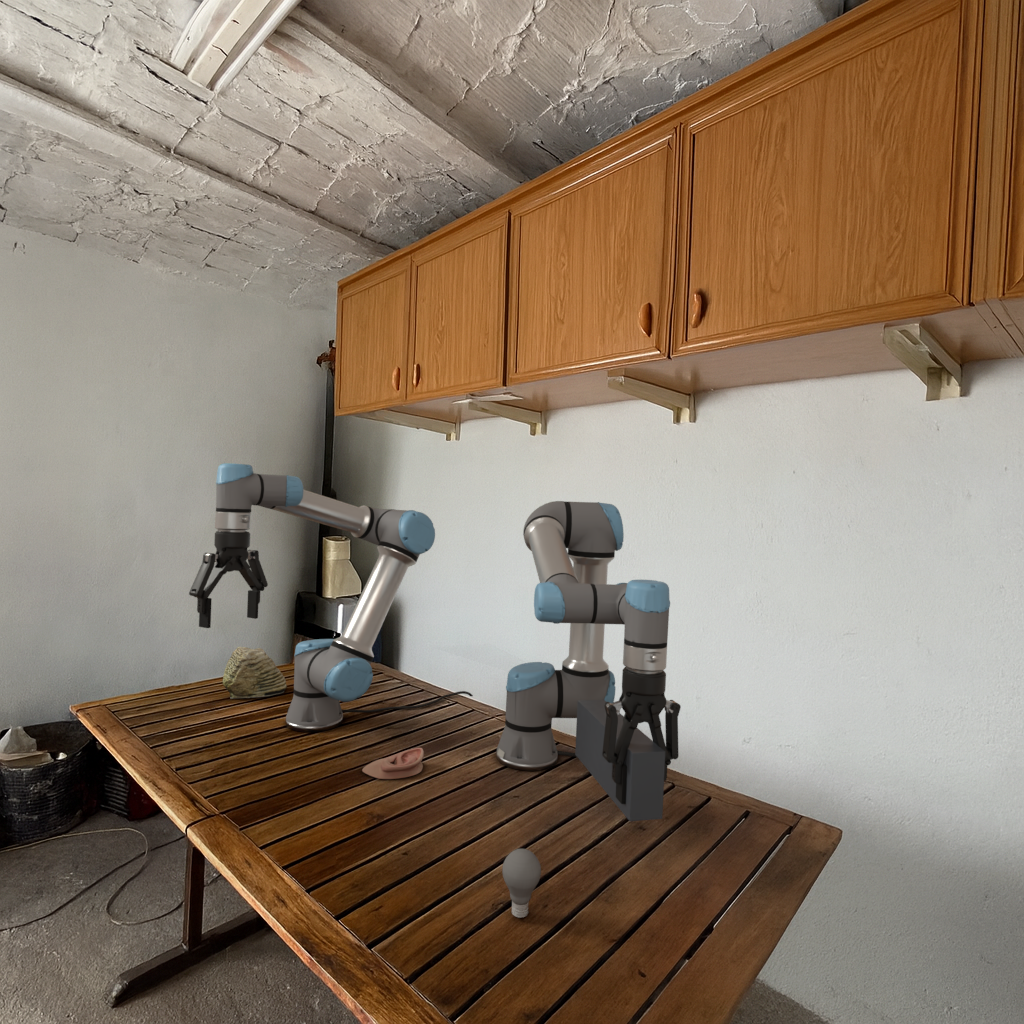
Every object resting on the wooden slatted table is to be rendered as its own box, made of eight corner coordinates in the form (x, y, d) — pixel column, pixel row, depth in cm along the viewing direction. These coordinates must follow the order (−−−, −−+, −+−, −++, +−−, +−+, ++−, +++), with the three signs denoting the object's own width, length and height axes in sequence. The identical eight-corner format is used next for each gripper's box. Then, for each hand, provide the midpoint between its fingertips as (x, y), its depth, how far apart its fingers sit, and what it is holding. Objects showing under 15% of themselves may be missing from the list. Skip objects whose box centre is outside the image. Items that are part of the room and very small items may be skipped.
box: (575, 754, 136) (577, 700, 136) (601, 753, 137) (604, 699, 137) (629, 821, 108) (632, 753, 108) (662, 819, 109) (665, 751, 109)
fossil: (218, 695, 195) (220, 647, 195) (278, 685, 208) (279, 640, 207) (228, 703, 189) (230, 653, 188) (289, 692, 201) (290, 645, 201)
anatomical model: (356, 758, 144) (377, 740, 155) (356, 775, 144) (376, 756, 155) (412, 766, 141) (429, 746, 152) (411, 783, 141) (428, 763, 153)
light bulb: (499, 902, 101) (501, 840, 101) (536, 902, 101) (539, 840, 101) (501, 928, 95) (504, 862, 95) (541, 927, 95) (544, 862, 95)
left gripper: (198, 533, 133) (194, 633, 133) (284, 530, 156) (281, 616, 156) (173, 531, 136) (169, 629, 136) (261, 528, 159) (258, 612, 159)
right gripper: (601, 675, 106) (594, 813, 106) (704, 673, 110) (698, 805, 110) (585, 663, 113) (580, 792, 113) (683, 662, 117) (677, 786, 117)
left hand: (229, 622), depth 146 cm, fingers open, 13 cm apart
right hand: (638, 798), depth 112 cm, fingers closed on box, 6 cm apart
